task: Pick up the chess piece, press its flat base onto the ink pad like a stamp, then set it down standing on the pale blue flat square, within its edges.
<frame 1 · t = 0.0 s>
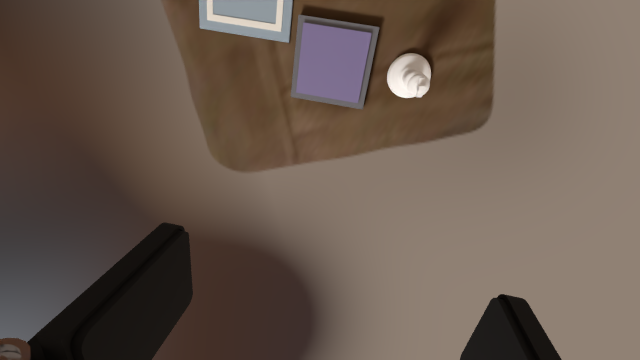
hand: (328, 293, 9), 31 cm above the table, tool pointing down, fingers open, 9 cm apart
chess piece: (408, 75, 35), on the table
ink pad: (333, 63, 36), on the table
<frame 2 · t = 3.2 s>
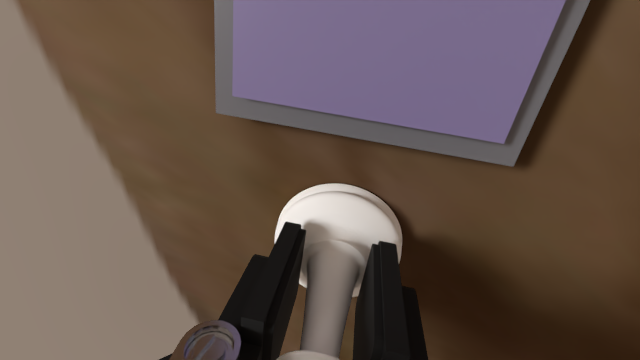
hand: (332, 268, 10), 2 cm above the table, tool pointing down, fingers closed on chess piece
chess piece: (338, 236, 12), on the table, touching gripper
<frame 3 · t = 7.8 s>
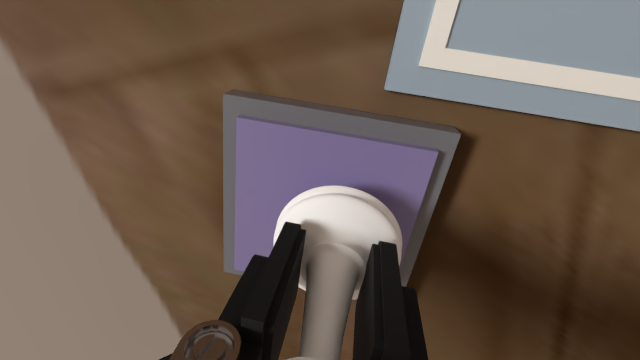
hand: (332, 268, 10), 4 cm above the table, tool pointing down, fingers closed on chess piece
chess piece: (337, 238, 12), point 2 cm above the table, touching gripper
ink pad: (325, 203, 14), on the table
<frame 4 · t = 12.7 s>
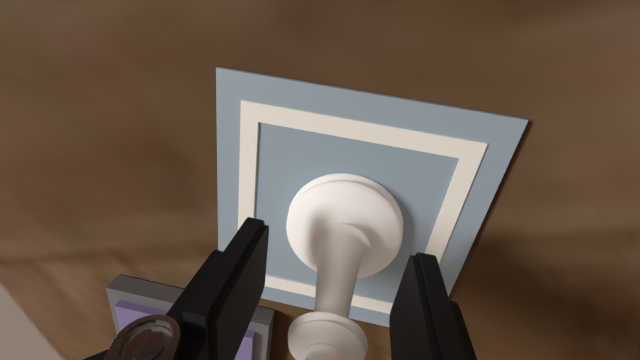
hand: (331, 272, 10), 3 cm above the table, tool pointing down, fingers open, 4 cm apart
chess piece: (344, 222, 13), resting on pale blue flat square
ink pad: (198, 344, 19), on the table
pale blue flat square: (340, 219, 13), on the table
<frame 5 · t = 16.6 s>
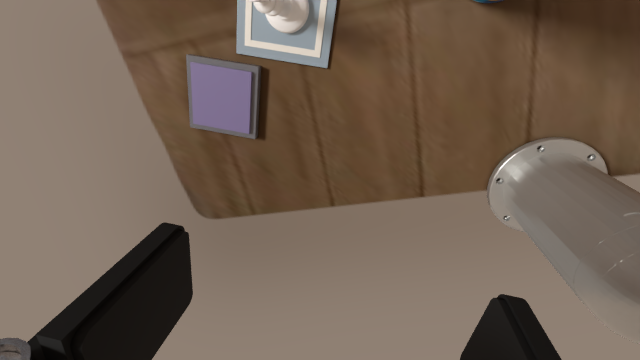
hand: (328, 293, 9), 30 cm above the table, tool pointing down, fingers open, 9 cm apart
chess piece: (287, 8, 33), resting on pale blue flat square
ink pad: (225, 97, 39), on the table
pale blue flat square: (286, 7, 33), on the table
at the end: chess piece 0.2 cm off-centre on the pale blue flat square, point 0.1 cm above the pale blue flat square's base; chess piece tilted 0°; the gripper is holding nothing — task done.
